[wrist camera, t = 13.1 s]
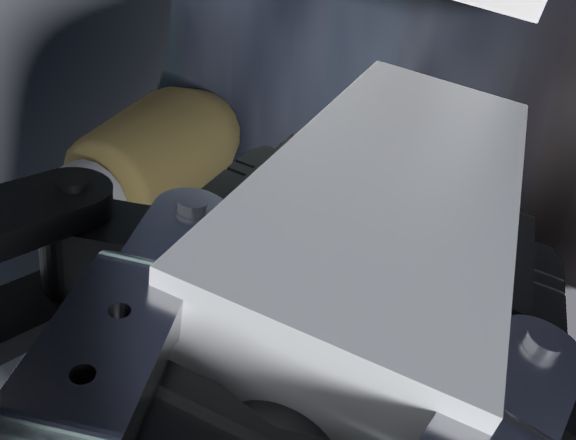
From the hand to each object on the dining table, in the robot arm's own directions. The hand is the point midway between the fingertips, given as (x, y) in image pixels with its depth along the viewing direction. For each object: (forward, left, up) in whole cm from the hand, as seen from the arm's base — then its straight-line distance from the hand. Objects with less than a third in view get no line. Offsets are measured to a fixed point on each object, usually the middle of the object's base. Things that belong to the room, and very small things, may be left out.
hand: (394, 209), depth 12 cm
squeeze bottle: (+17, +12, -24) cm, 32 cm away
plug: (0, 0, -4) cm, 4 cm away
